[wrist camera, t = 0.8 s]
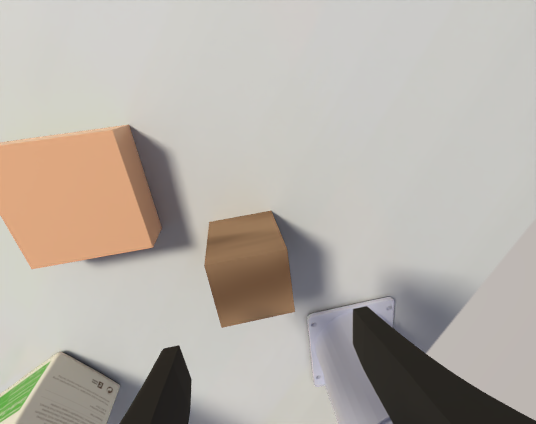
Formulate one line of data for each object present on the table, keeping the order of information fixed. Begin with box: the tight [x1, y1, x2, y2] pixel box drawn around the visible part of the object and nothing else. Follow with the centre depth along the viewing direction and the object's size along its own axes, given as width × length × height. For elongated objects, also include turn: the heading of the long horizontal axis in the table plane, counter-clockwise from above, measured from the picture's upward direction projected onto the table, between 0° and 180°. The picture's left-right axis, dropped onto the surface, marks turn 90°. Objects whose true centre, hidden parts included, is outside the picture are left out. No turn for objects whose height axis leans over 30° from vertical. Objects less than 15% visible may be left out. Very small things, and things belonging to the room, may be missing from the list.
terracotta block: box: [0, 125, 162, 269], centre depth 16 cm, size 7×7×3 cm
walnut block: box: [204, 211, 295, 328], centre depth 18 cm, size 4×4×6 cm
